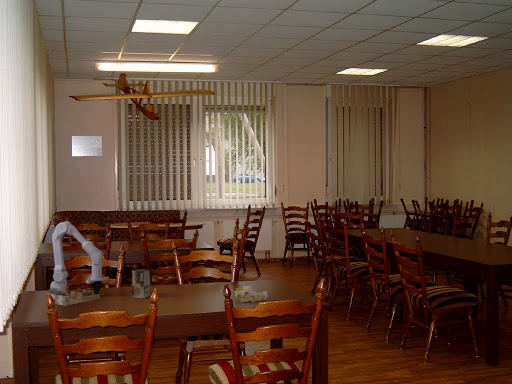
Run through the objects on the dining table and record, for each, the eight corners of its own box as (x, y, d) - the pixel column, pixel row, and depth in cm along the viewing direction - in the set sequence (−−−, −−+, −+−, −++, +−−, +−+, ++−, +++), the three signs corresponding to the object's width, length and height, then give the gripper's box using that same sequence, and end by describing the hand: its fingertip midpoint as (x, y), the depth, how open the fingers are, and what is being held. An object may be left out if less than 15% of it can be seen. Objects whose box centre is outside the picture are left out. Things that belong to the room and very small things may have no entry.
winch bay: (46, 303, 382) (46, 283, 382) (81, 296, 403) (81, 278, 402) (66, 306, 373) (66, 286, 373) (100, 299, 394) (100, 281, 393)
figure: (272, 301, 396) (272, 285, 396) (254, 306, 381) (254, 289, 381) (247, 298, 406) (247, 282, 406) (229, 302, 391) (229, 286, 391)
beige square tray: (70, 299, 392) (70, 291, 392) (82, 297, 399) (82, 289, 399) (81, 301, 387) (81, 293, 387) (93, 298, 394) (93, 291, 394)
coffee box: (150, 297, 404) (151, 270, 404) (143, 298, 399) (143, 271, 398) (138, 295, 409) (139, 268, 408) (131, 297, 403) (131, 270, 403)
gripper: (92, 273, 393) (92, 296, 394) (110, 270, 405) (110, 293, 406) (83, 272, 397) (83, 295, 398) (102, 269, 409) (102, 292, 410)
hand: (96, 294), depth 402 cm, fingers closed
